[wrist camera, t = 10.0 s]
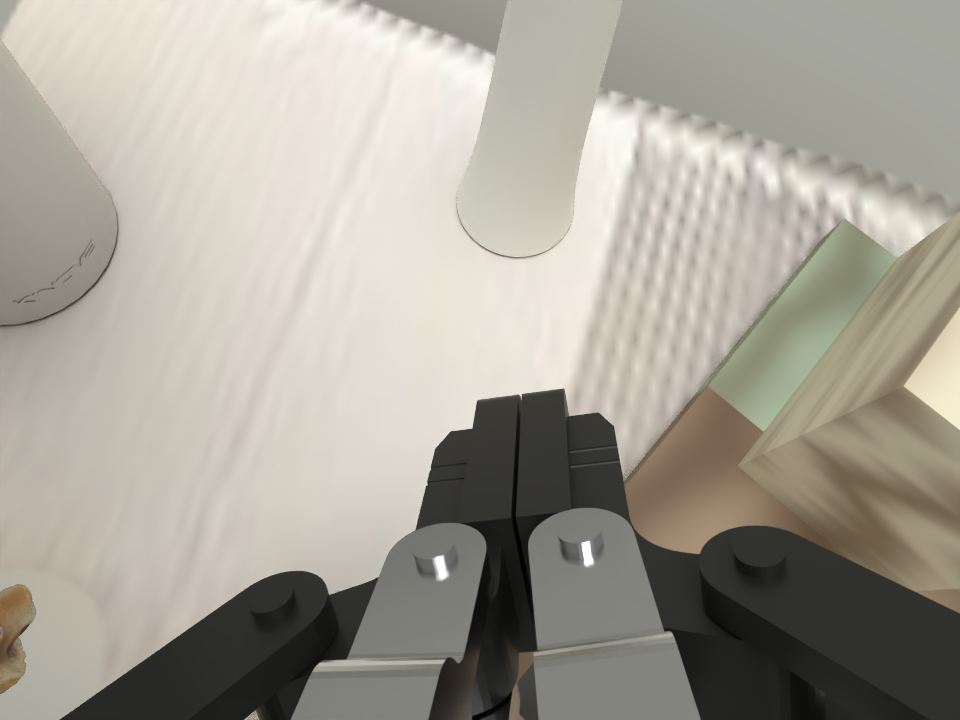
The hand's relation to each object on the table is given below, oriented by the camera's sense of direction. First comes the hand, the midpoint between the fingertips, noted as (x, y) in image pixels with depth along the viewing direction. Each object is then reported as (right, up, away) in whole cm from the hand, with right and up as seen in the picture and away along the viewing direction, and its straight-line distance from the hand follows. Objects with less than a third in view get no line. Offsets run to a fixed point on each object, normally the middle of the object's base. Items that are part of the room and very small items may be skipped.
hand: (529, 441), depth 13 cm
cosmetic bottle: (+1, +9, +26) cm, 28 cm away
